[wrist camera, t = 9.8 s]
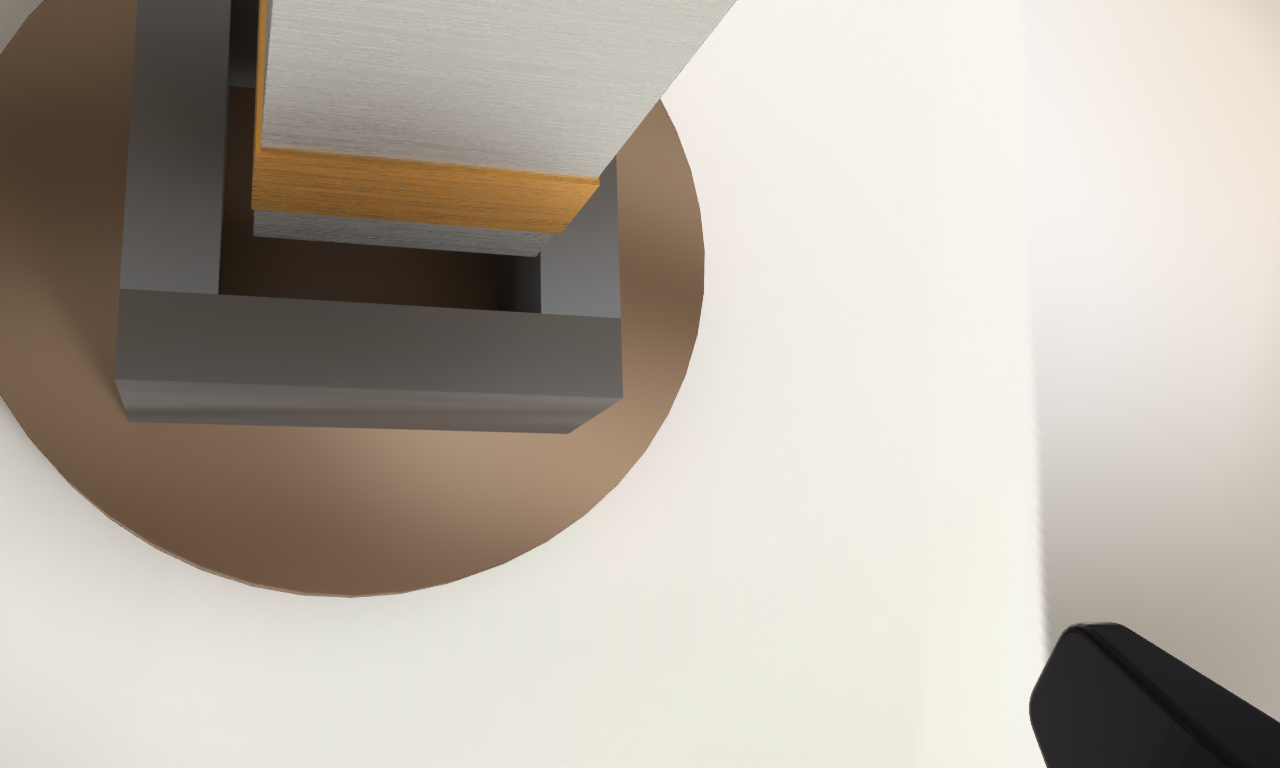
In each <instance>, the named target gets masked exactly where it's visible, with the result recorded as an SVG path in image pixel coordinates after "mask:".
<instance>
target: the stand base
mask: <svg viewBox="0 0 1280 768" xmlns="http://www.w3.org/2000/svg"><path fill="white" fill-rule="evenodd" d="M258 19H259V0H44V1H43V2H42V3H41V4H40V5H39V6H38V7H37V8H36V9H35V10H34V11H33V12H32V13H31V14H30V15H29V17H28V18H27V19H26V21H25V22H24V23H23V25H22V26H21V27H20V29H19V30H18V32H17V33H16V34H15V36H14V37H13V38H12V40H11V41H10V42H9V44H8V45H7V47H6V48H5V49H4V51H3V52H2V53H1V55H0V395H1V396H2V398H3V399H4V401H5V402H6V404H7V405H8V407H9V408H10V410H11V411H12V413H13V414H14V416H15V417H16V419H17V420H18V422H19V423H20V425H21V426H22V428H23V429H24V431H25V432H26V434H27V436H28V437H29V438H30V439H31V440H32V442H33V443H34V444H35V445H36V446H37V448H38V449H39V450H40V451H41V452H42V453H43V454H44V456H45V457H46V458H47V459H48V460H49V461H50V462H51V463H52V465H53V466H54V467H55V468H56V469H57V470H58V471H59V472H60V474H61V475H62V476H63V477H64V478H65V479H66V480H67V481H68V483H69V484H70V485H71V486H72V487H73V488H74V489H76V490H77V491H78V492H79V493H80V494H81V495H83V496H84V497H85V498H86V499H87V500H88V501H90V502H91V503H92V504H93V505H94V506H95V507H97V508H98V509H99V510H100V511H101V512H102V513H104V514H105V515H106V516H107V517H108V518H109V519H111V520H112V521H114V522H115V523H117V524H118V525H120V526H121V527H123V528H124V529H126V530H128V531H129V532H131V533H132V534H134V535H135V536H137V537H138V538H140V539H142V540H143V541H145V542H146V543H148V544H149V545H151V546H152V547H154V548H156V549H158V550H160V551H162V552H164V553H166V554H168V555H170V556H173V557H175V558H177V559H179V560H181V561H183V562H185V563H187V564H190V565H192V566H194V567H196V568H198V569H200V570H202V571H206V572H209V573H212V574H215V575H218V576H221V577H224V578H227V579H231V580H234V581H237V582H240V583H243V584H246V585H249V586H253V587H259V588H264V589H270V590H276V591H281V592H287V593H292V594H298V595H307V596H328V597H348V598H354V597H366V596H379V595H391V594H402V593H406V592H411V591H416V590H420V589H425V588H430V587H434V586H439V585H444V584H448V583H451V582H454V581H457V580H460V579H462V578H465V577H468V576H471V575H474V574H476V573H479V572H482V571H485V570H488V569H490V568H493V567H496V566H499V565H502V564H504V563H506V562H508V561H510V560H512V559H514V558H516V557H518V556H520V555H522V554H524V553H526V552H528V551H530V550H532V549H534V548H536V547H538V546H539V545H541V544H543V543H545V542H547V541H549V540H550V539H551V538H553V537H554V536H556V535H557V534H559V533H560V532H561V531H563V530H564V529H566V528H567V527H569V526H570V525H571V524H573V523H574V522H576V521H577V520H579V519H580V518H581V517H583V516H584V515H585V514H587V513H588V512H589V511H590V510H591V509H592V508H593V507H594V506H595V505H596V504H597V503H598V502H600V501H601V500H602V499H603V498H604V497H605V496H606V495H607V494H608V493H609V492H610V491H611V490H613V489H614V488H615V487H616V486H617V485H618V484H619V483H620V481H621V480H622V479H623V478H624V476H625V475H626V474H627V473H628V472H629V470H630V469H631V468H632V467H633V466H634V464H635V463H636V462H637V461H638V459H639V458H640V457H641V456H642V455H643V453H644V452H645V451H646V449H647V448H648V446H649V445H650V443H651V441H652V440H653V438H654V436H655V435H656V433H657V432H658V430H659V428H660V427H661V425H662V423H663V422H664V420H665V419H666V417H667V415H668V414H669V411H670V409H671V407H672V405H673V402H674V400H675V398H676V396H677V393H678V391H679V389H680V387H681V384H682V382H683V380H684V378H685V375H686V372H687V369H688V365H689V362H690V358H691V355H692V351H693V348H694V345H695V341H696V338H697V334H698V327H699V321H700V314H701V308H702V301H703V294H704V253H705V251H704V242H703V232H702V223H701V214H700V208H699V203H698V199H697V195H696V190H695V186H694V182H693V178H692V173H691V169H690V167H689V164H688V161H687V158H686V156H685V153H684V150H683V147H682V145H681V142H680V139H679V137H678V134H677V131H676V129H675V127H674V125H673V123H672V121H671V119H670V117H669V115H668V113H667V111H666V109H665V107H664V105H663V103H662V101H661V99H659V100H658V101H657V103H656V104H655V105H654V107H653V108H652V109H651V110H650V112H649V113H648V114H647V116H646V117H645V118H644V119H643V121H642V122H641V123H640V124H639V126H638V127H637V128H636V130H635V131H634V132H633V133H632V135H631V136H630V137H629V138H628V140H627V141H626V142H625V144H624V145H623V146H622V147H621V149H620V150H619V151H618V153H617V154H616V155H615V156H614V158H613V159H612V160H611V161H610V163H609V164H608V165H607V167H606V168H605V169H604V170H603V172H602V173H601V174H600V176H599V177H600V186H599V187H598V188H597V189H596V191H595V192H594V193H593V194H592V196H591V197H590V198H589V199H588V201H587V202H586V203H585V204H584V206H583V207H582V208H581V209H580V211H579V212H578V213H577V214H576V216H575V217H574V218H573V219H572V221H571V222H570V223H569V224H568V226H567V227H566V228H565V229H564V231H563V232H562V233H561V234H553V236H552V237H551V238H550V239H549V241H548V242H547V243H546V244H545V246H544V247H543V248H542V250H541V251H540V252H539V253H538V255H537V256H536V257H529V256H515V255H502V254H488V253H475V252H461V251H448V250H434V249H421V248H407V247H394V246H380V245H367V244H353V243H339V242H326V241H312V240H299V239H285V238H272V237H258V236H253V230H254V210H253V209H251V200H252V174H253V148H254V122H255V97H256V71H257V45H258Z"/></svg>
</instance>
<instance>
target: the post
mask: <svg viewBox="0 0 1280 768" xmlns="http://www.w3.org/2000/svg"><path fill="white" fill-rule="evenodd" d="M736 1H737V0H259V19H258V45H257V71H256V97H255V122H254V148H253V174H252V200H251V209H253V210H254V230H253V236H258V237H272V238H285V239H299V240H312V241H326V242H339V243H353V244H367V245H380V246H394V247H407V248H421V249H434V250H448V251H461V252H475V253H488V254H502V255H515V256H529V257H536V256H537V255H538V253H539V252H540V251H541V250H542V248H543V247H544V246H545V244H546V243H547V242H548V241H549V239H550V238H551V237H552V236H553V234H561V233H562V232H563V231H564V229H565V228H566V227H567V226H568V224H569V223H570V222H571V221H572V219H573V218H574V217H575V216H576V214H577V213H578V212H579V211H580V209H581V208H582V207H583V206H584V204H585V203H586V202H587V201H588V199H589V198H590V197H591V196H592V194H593V193H594V192H595V191H596V189H597V188H598V187H599V186H600V177H599V176H600V174H601V173H602V172H603V170H604V169H605V168H606V167H607V165H608V164H609V163H610V161H611V160H612V159H613V158H614V156H615V155H616V154H617V153H618V151H619V150H620V149H621V147H622V146H623V145H624V144H625V142H626V141H627V140H628V138H629V137H630V136H631V135H632V133H633V132H634V131H635V130H636V128H637V127H638V126H639V124H640V123H641V122H642V121H643V119H644V118H645V117H646V116H647V114H648V113H649V112H650V110H651V109H652V108H653V107H654V105H655V104H656V103H657V101H658V100H659V99H660V98H661V96H662V95H663V94H664V93H665V91H666V90H667V89H668V87H669V86H670V85H671V84H672V82H673V81H674V80H675V78H676V77H677V76H678V75H679V73H680V72H681V71H682V70H683V68H684V67H685V66H686V64H687V63H688V62H689V61H690V59H691V58H692V57H693V55H694V54H695V53H696V52H697V50H698V49H699V48H700V47H701V45H702V44H703V43H704V41H705V40H706V39H707V38H708V36H709V35H710V34H711V33H712V31H713V30H714V29H715V27H716V26H717V25H718V24H719V22H720V21H721V20H722V18H723V17H724V16H725V15H726V13H727V12H728V11H729V10H730V8H731V7H732V6H733V4H734V3H735V2H736Z"/></svg>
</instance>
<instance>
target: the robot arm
mask: <svg viewBox="0 0 1280 768" xmlns="http://www.w3.org/2000/svg"><path fill="white" fill-rule="evenodd" d="M1029 715H1030V721H1031V725H1032V728H1033V731H1034V734H1035V737H1036V739H1037V742H1038V745H1039V747H1040V750H1041V753H1042V756H1043V758H1044V761H1045V764H1046V766H1047V768H1280V722H1278V721H1276V720H1275V719H1273V718H1272V717H1270V716H1268V715H1267V714H1265V713H1264V712H1262V711H1260V710H1259V709H1257V708H1256V707H1254V706H1252V705H1251V704H1249V703H1248V702H1246V701H1244V700H1242V699H1241V698H1239V697H1238V696H1236V695H1234V694H1233V693H1231V692H1230V691H1228V690H1227V689H1225V688H1223V687H1222V686H1220V685H1219V684H1217V683H1215V682H1214V681H1212V680H1211V679H1209V678H1207V677H1206V676H1204V675H1202V674H1201V673H1199V672H1198V671H1196V670H1194V669H1193V668H1191V667H1189V666H1188V665H1186V664H1185V663H1183V662H1182V661H1180V660H1178V659H1177V658H1175V657H1173V656H1172V655H1170V654H1169V653H1167V652H1165V651H1164V650H1162V649H1161V648H1159V647H1157V646H1156V645H1154V644H1153V643H1151V642H1149V641H1147V640H1146V639H1145V638H1143V637H1141V636H1140V635H1138V634H1136V633H1135V632H1133V631H1132V630H1130V629H1128V628H1127V627H1125V626H1123V625H1120V624H1117V623H1112V622H1096V623H1095V622H1094V623H1076V624H1073V625H1070V626H1069V627H1068V628H1067V629H1065V630H1064V631H1063V632H1062V634H1061V636H1060V637H1059V639H1058V641H1057V643H1056V645H1055V647H1054V649H1053V651H1052V653H1051V655H1050V657H1049V659H1048V661H1047V663H1046V665H1045V667H1044V669H1043V671H1042V673H1041V675H1040V677H1039V679H1038V681H1037V683H1036V685H1035V687H1034V689H1033V691H1032V693H1031V697H1030V702H1029Z"/></svg>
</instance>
